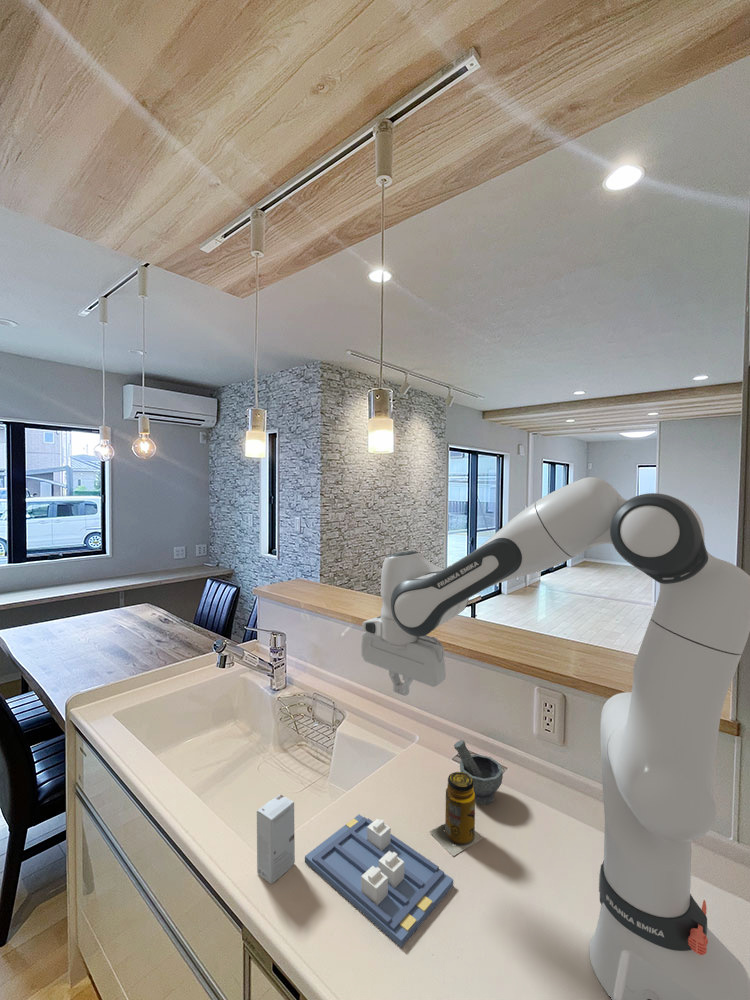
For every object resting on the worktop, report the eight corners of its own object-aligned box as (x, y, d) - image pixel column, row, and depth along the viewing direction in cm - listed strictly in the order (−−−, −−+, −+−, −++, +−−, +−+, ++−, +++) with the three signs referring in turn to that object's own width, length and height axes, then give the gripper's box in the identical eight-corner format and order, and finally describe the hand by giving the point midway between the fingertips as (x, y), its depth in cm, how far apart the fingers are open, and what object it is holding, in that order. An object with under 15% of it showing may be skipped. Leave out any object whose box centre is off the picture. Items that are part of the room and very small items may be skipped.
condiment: (483, 838, 94) (484, 782, 94) (453, 857, 90) (453, 797, 89) (458, 816, 100) (459, 763, 100) (429, 833, 96) (429, 777, 95)
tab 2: (387, 894, 80) (387, 872, 80) (376, 906, 78) (376, 884, 77) (372, 882, 82) (372, 861, 82) (361, 893, 80) (361, 871, 80)
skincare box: (271, 885, 83) (271, 821, 82) (255, 873, 86) (255, 810, 85) (296, 862, 88) (296, 801, 88) (280, 851, 91) (279, 792, 90)
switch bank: (453, 885, 83) (453, 875, 83) (401, 947, 72) (401, 935, 72) (359, 819, 99) (359, 810, 99) (304, 862, 88) (304, 852, 88)
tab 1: (390, 843, 91) (390, 823, 91) (380, 852, 89) (380, 832, 89) (377, 833, 94) (377, 814, 93) (367, 842, 91) (367, 822, 91)
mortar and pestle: (504, 788, 110) (504, 739, 109) (500, 814, 101) (500, 761, 100) (457, 776, 114) (458, 729, 113) (449, 801, 105) (450, 750, 104)
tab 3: (404, 878, 83) (404, 857, 83) (393, 889, 81) (393, 867, 81) (389, 867, 86) (389, 846, 85) (378, 877, 83) (378, 856, 83)
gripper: (452, 635, 91) (451, 704, 91) (376, 615, 104) (376, 674, 105) (433, 644, 86) (433, 716, 87) (356, 621, 100) (356, 683, 100)
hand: (401, 693), depth 96 cm, fingers closed
